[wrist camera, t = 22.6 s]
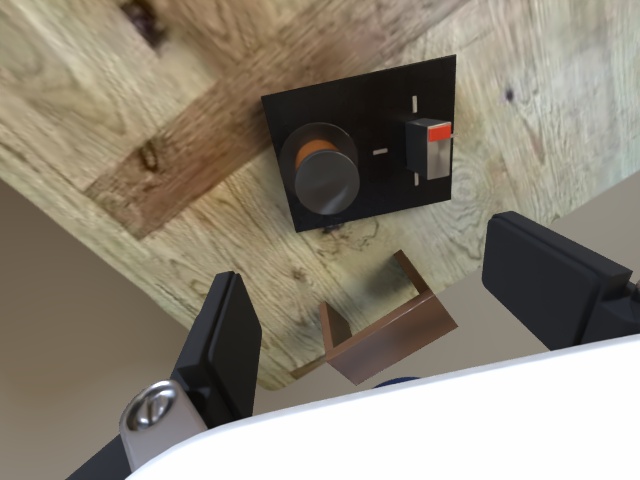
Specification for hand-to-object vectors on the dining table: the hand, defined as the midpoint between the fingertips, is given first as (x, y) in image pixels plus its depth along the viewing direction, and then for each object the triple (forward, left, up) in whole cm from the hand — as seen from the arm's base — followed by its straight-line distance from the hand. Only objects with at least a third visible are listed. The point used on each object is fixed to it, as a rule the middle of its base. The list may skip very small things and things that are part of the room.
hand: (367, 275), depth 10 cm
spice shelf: (-20, -4, -22) cm, 30 cm away
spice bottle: (0, 0, -19) cm, 19 cm away
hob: (0, -5, -22) cm, 23 cm away
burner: (0, 0, -20) cm, 20 cm away
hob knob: (0, -10, -20) cm, 22 cm away
